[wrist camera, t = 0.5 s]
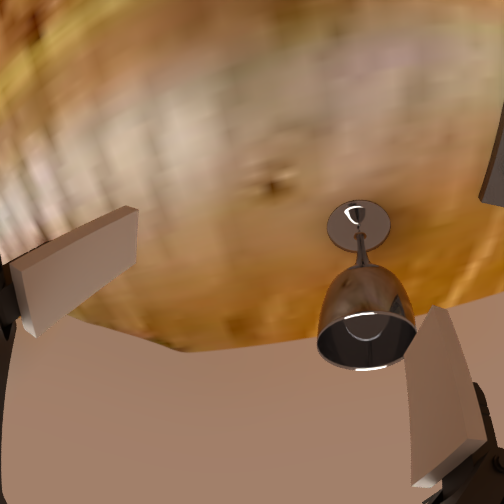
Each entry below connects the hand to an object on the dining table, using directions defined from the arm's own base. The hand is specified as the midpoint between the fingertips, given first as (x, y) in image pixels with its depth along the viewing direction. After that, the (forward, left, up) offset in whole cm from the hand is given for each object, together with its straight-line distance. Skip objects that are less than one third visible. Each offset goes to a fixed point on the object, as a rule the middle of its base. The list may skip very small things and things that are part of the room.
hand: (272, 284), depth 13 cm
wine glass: (+11, +7, -20) cm, 24 cm away
